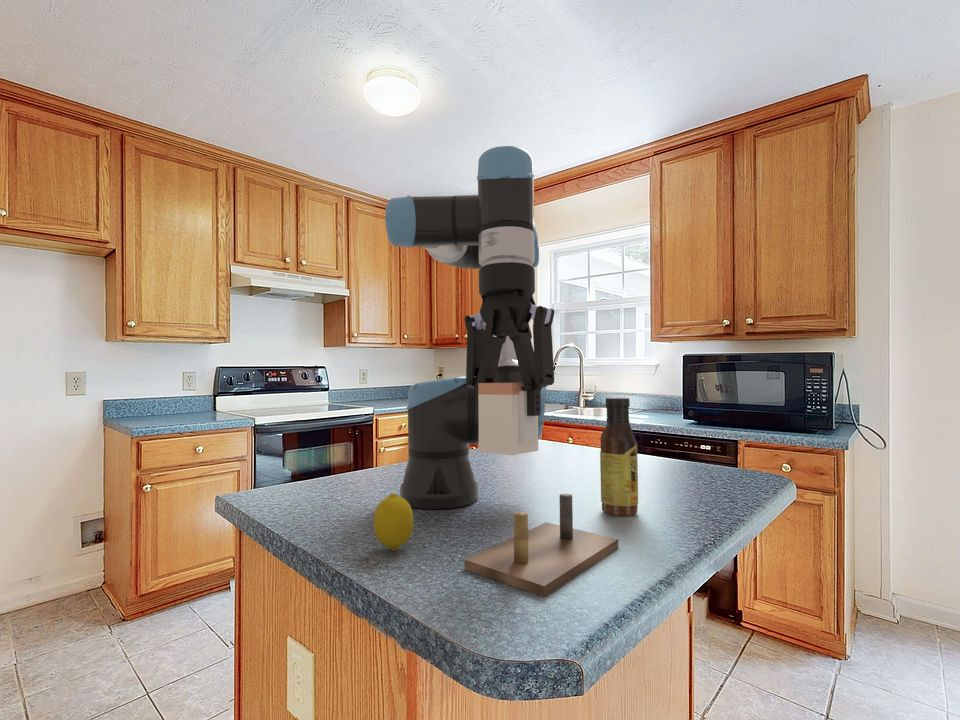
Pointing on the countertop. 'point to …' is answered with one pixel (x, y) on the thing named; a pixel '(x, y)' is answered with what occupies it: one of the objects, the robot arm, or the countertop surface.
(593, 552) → the pin board
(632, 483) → the sauce bottle
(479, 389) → the sleeve
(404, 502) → the lemon
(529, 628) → the countertop surface
